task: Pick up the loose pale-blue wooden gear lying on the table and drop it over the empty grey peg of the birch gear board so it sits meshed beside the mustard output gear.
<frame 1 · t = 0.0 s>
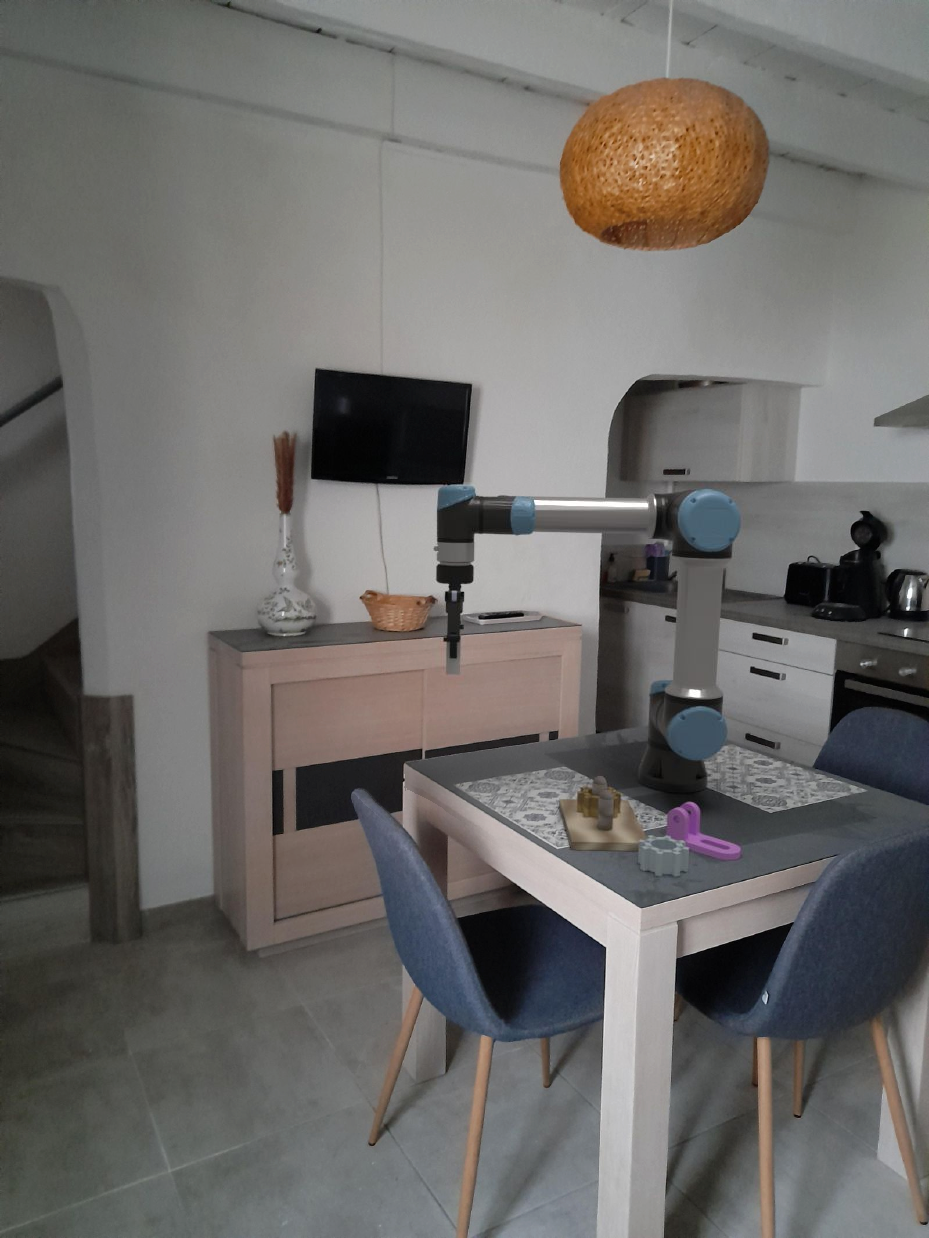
hand: (453, 667, 180), 28 cm above the table, fingers open, 13 cm apart
bracket: (705, 849, 162), on the table
gear board: (601, 827, 170), on the table
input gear: (662, 866, 153), on the table
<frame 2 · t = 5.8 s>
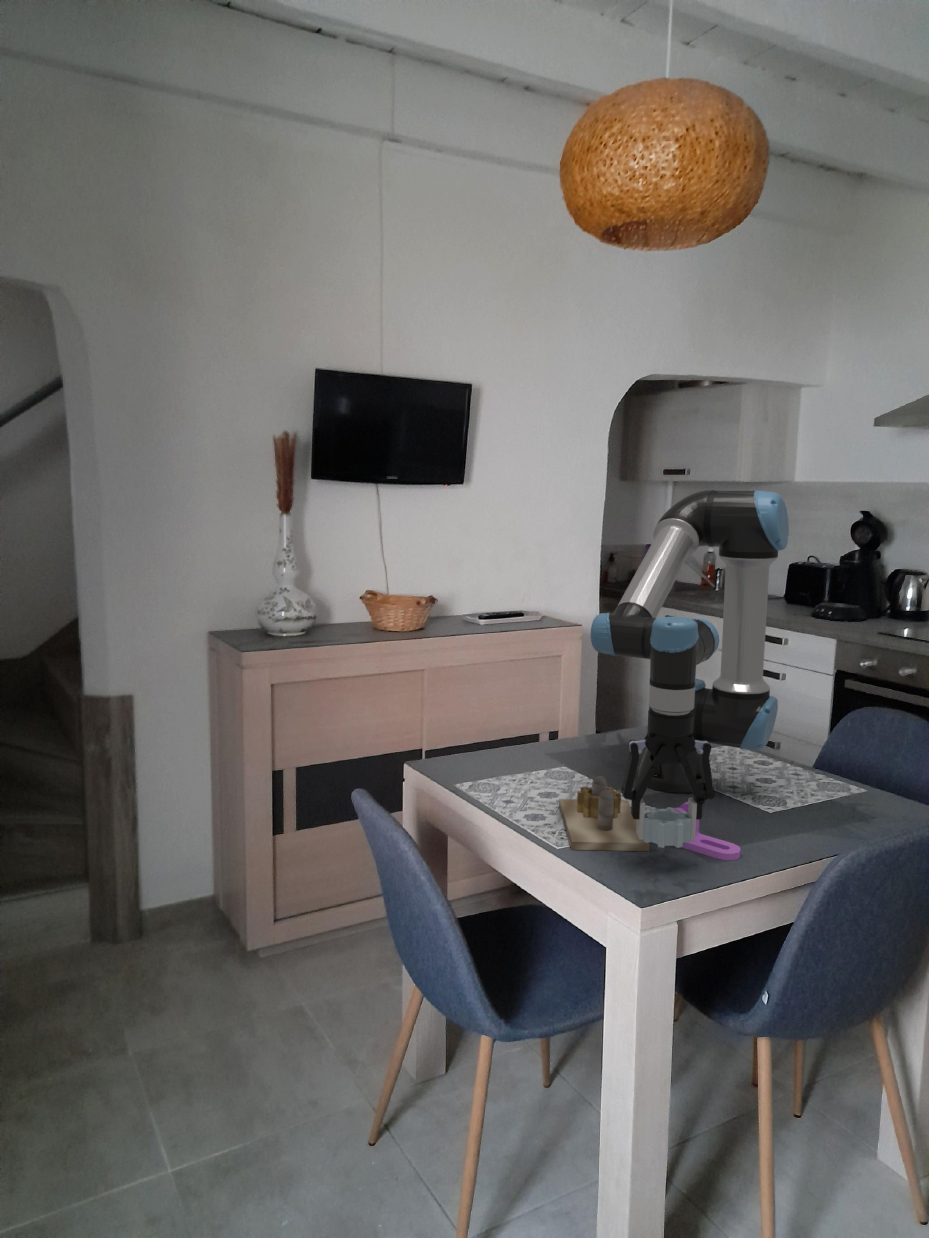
hand: (665, 836, 153), 5 cm above the table, fingers closed on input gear, 8 cm apart
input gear: (665, 837, 153), point 5 cm above the table, touching gripper
everything else where it was.
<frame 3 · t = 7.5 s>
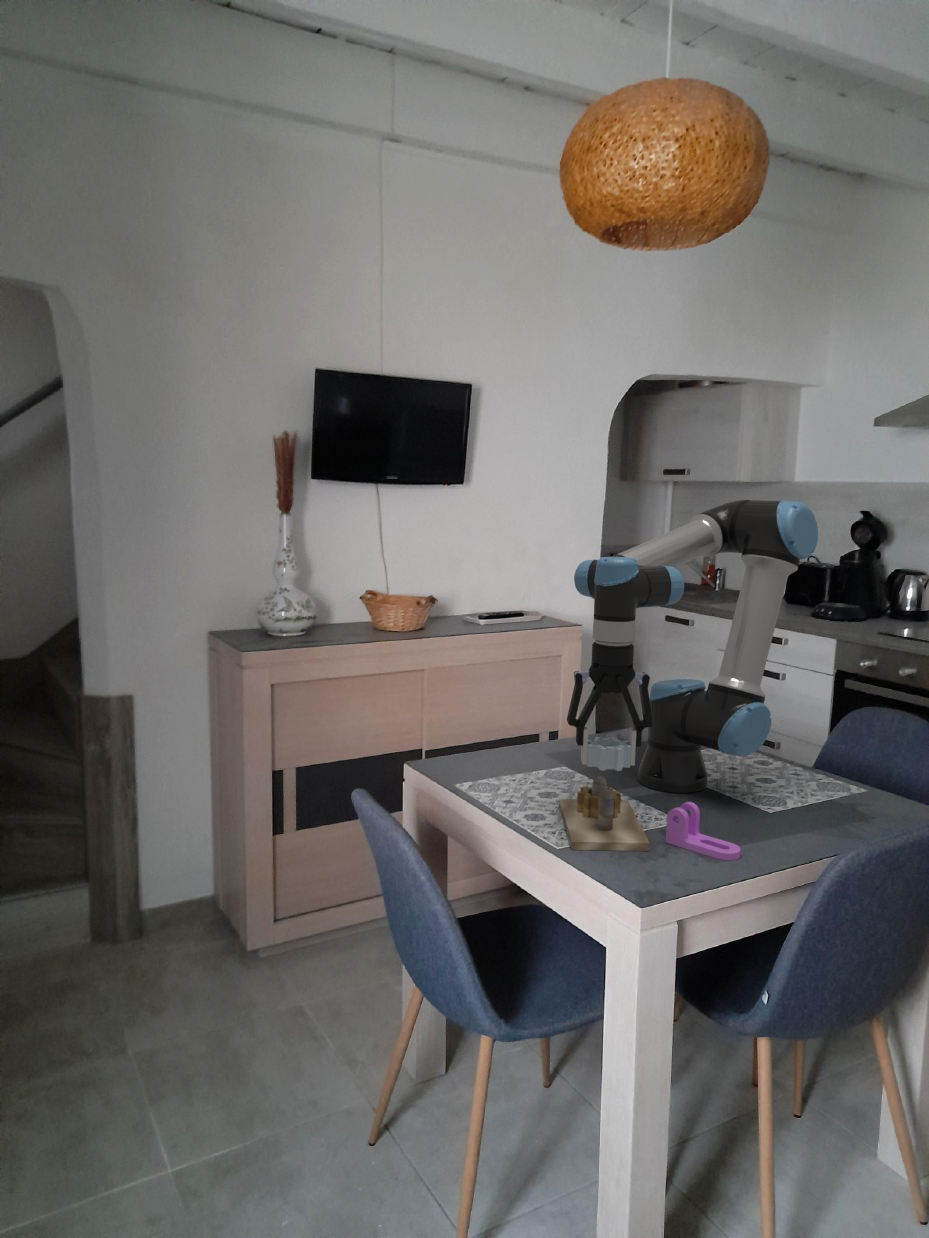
hand: (607, 762, 164), 14 cm above the table, fingers closed on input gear, 8 cm apart
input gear: (607, 763, 164), point 14 cm above the table, touching gripper
everything else where it was.
when the fingers open (4 cm above the table, at t = 9.3 s): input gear drops 2 cm, resting on gear board.
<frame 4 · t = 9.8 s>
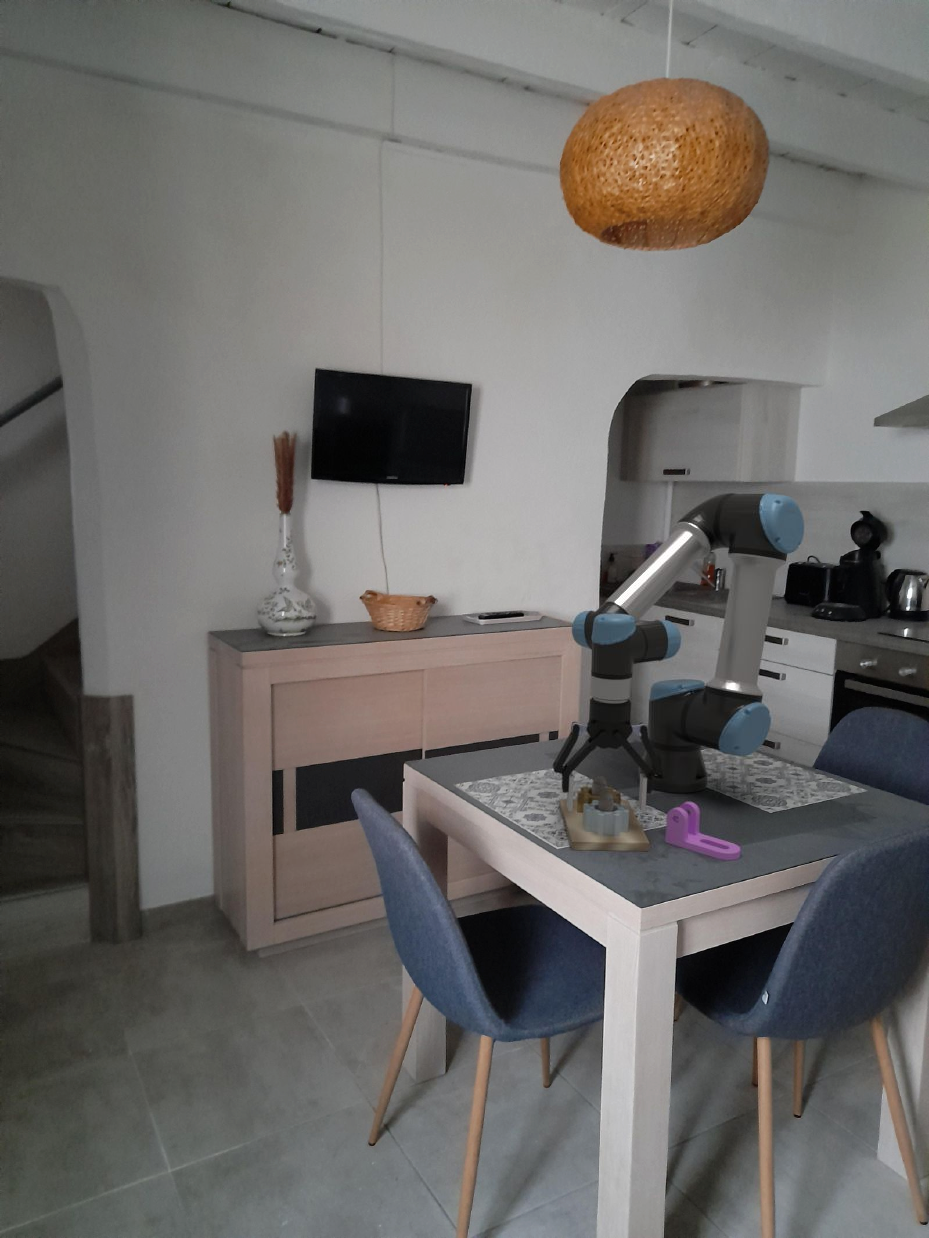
hand: (605, 809, 166), 5 cm above the table, fingers open, 13 cm apart
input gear: (605, 827, 166), point 1 cm above the table, touching gear board
everything else where it was.
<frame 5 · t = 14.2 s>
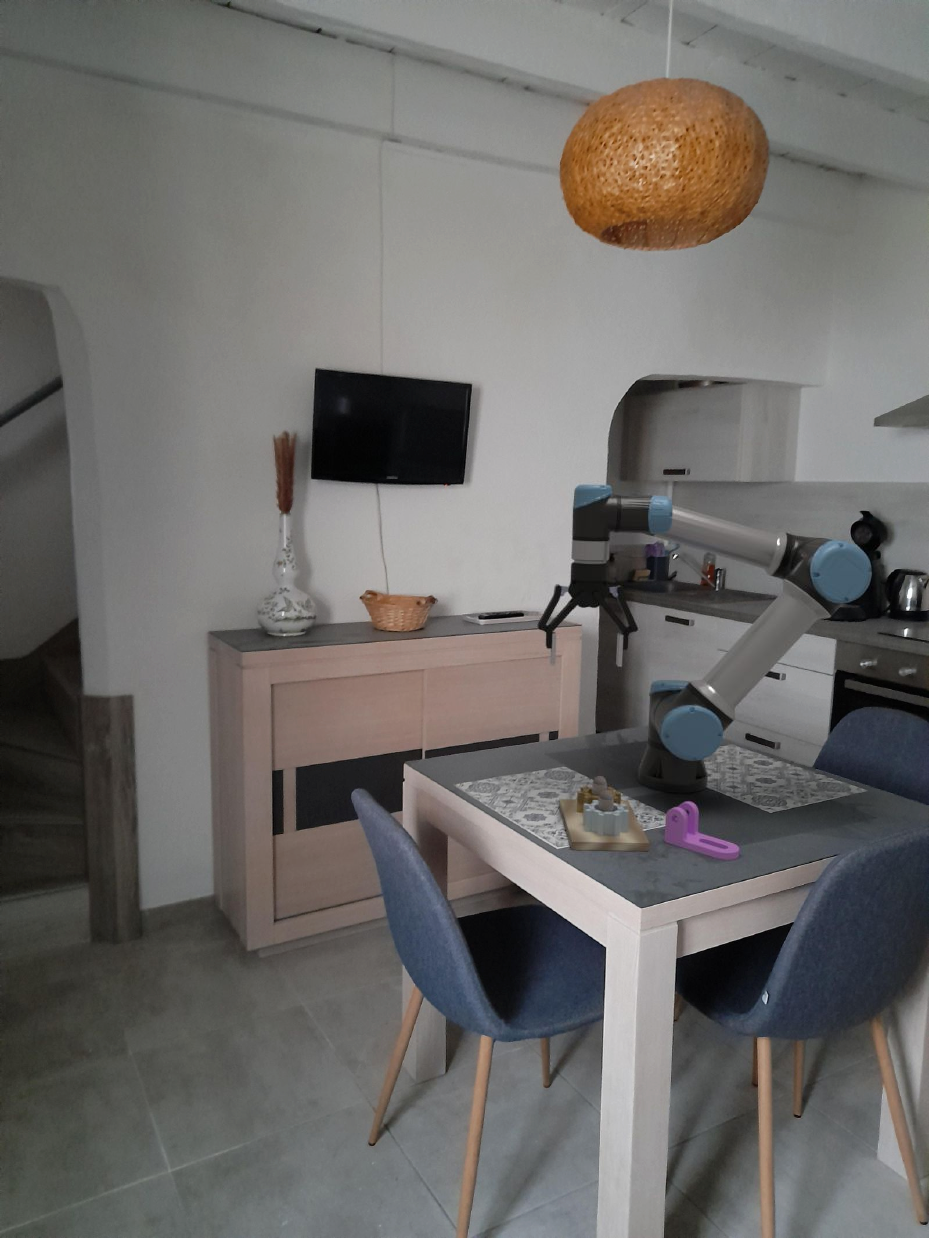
hand: (585, 665, 182), 29 cm above the table, fingers open, 13 cm apart
nothing on the table moved.
at the end: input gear 0.1 cm from the target spot on the gear board, point 1.5 cm above the gear board's base; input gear tilted 0°; the gripper is holding nothing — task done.
